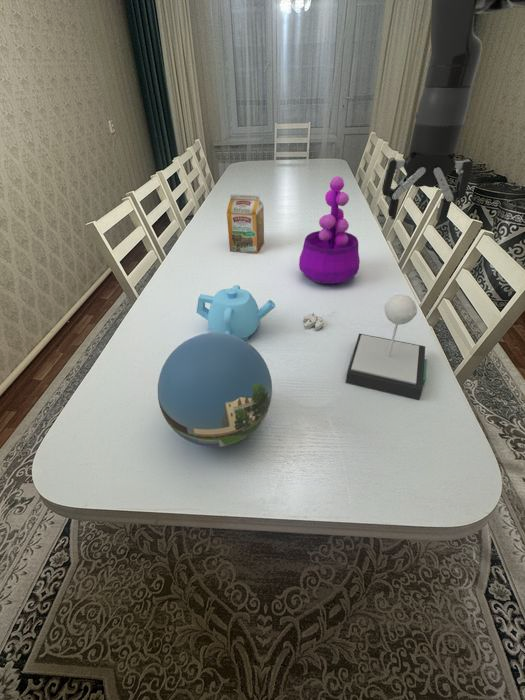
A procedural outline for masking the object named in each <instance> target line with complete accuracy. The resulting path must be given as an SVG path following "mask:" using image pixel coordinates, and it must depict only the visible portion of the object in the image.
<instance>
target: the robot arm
mask: <svg viewBox="0 0 525 700" xmlns="http://www.w3.org/2000/svg"><path fill="white" fill-rule="evenodd" d="M430 7H431V8H430V58H429V62H428V65H427V66H428V68H427V71H426V76H425V81H424V87H423V90H422V94H421V97H420V99H419V102H418V105H417V106H418V107H417V111H416V113H415V121H414V125H413V131H412V136H411V140H410V145H409V150H408V155H407V156H406V158H405V159H396V158H395V157H390V158H389V159H388V161H387V165H386V170H385V175H384V178H383V179H384V180H383V183H382V188H381V190H382V191H381V192H382V195H383V196H385V197H388V198H390V199H389V202H388V203H389V204H388V208H387V214H388V217H390V220H396V217H397V213H398V208H399V203H400V199H399V198H400V197H401V196H402V195H403V194H404V193H405V192H406V191H408V190H409V189H410V188H411V187H412V186H414V187H415V188H422V187H427V188H434V187H436V186H438V187H439V189H440V191H441V193H442V195H443V197H442V198H441V199H440V203H439V206H438V210H437V214H436V218H435V219H436V221H437V222H438V223H439V222H443V220H444V219H445V220H446V218H447V217H448V215H449V211H450V207H451V204H452V202H453V201H454V200H457V199H463V198H465V197H466V195H467V194H466V193H467V190H468V185H469V181H470V178H471V173H472V169H473V166H474V164H473V162H472V161H471V160H470V159H468V158H464V159H462V160H456V158H455V156H456V153H457V150H458V145H459V142H460V139H461V136H462V135H461V134H462V131H463V128H464V124H465V120H466V117H467V113H468V110H469V106H470V101H471V96H472V95H471V93H472V89H473V84H474V81H475V77H476V74H477V70H478V66H479V63H480V60H481V55H482V51H483V43H482V40H481V39H480V38H479V37H478V36H476V34H475V33H474V23H475V15H484V14H492V13H497V12H502V11H507V10H511V9H515V8H519V9H520V8H523V9H525V0H431V6H430ZM402 168H403V169H404V171H405V173H406V174H405V176H403V178H402V179H401V180H400V181H399V183H398V184H397V185H395V187H394V188H392V186H393V185H392V184H393V180H394V176H395V174H398V173H399V172H400V169H402ZM454 169H455V171H456V174H458V176H457V182H456V186H455V189H453V190H452V189H451V188H450V185H449V183H448V182H447V179H446V178H447V177H448V175H450V173H451V172H453V170H454Z"/></svg>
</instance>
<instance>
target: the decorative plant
mask: <svg viewBox="0 0 525 700" xmlns="http://www.w3.org/2000/svg"><path fill="white" fill-rule="evenodd" d="M329 187H330V189H329V190H328V191H327V192H326V193H325V196H324V197H325V198H324V199H325V203H326V204H327V206H329V207H330V213H328V214H324V215H322V216H321V217H320V218H319V220H318V224H319V227H320V228H321V230H317V231H313V232H311V233H310V232H309V234H307V235H306V236H305V238H304V241H303V245H302V250H301V253H300V256H299V260H298V261H299V262H298V267H299V270H300V271H301V272H302V274H303V275H304V276H305V277H306V278H308V279H309V280H311V281H314V282H317V283H321V284H339V283H344V282H346V281H349V280H350V279H351V278H353V277H354V276H355V275H357V274H358V272H359V269H360V253H359V239H358V237H356V236H355V235H354V234H352V233H349V232H347V231H348V229H349V227H350V226H349V225H350V224H349V222H348V221H347V219H346V218H344V217H345V213H344V210H343V209H342V208H340V207H345V206H346V205H347V204H348V203H349V200H350V197H349V195H348V193H346V192H344V191H342V190H343V189H344V187H345V181H344V179H343V178H342V177H341V176H334V177H332V179H331V180H330V182H329Z"/></svg>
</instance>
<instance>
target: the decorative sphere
mask: <svg viewBox="0 0 525 700" xmlns="http://www.w3.org/2000/svg"><path fill="white" fill-rule="evenodd" d="M272 397H273V383H272V376H271V373H270V370H269V367H268V365H267V363H266V361H265V359H264V358H263V356H262V355H261V353H260V352H259V351H258V350H257V349H256V348H255V347H254V346H253V345H251V343H249V342H248V341H247V340H243V339H241V338H239V337H236V336H233V335H230V334H225V333H213V332H206V333H202V334H197V335H195V336H192V337H191V338H189V339H187V340H184V341H183V342H182V343H181V344H179V345H178V346H177V347H175V349H174V350H173V351H172V352H171V353H170V354H169V355H168V357H167V358H166V360H165V362H164V364H163V366H162V368H161V370H160V373H159V377H158V382H157V400H158V405H159V409H160V411H161V413H162V416H163V418H164V419H165V422H167V425H168V426H170V428H171V429H172V430H173V431H174V432H175V433H176V434H177V435H178V436H180V437H181V438H183V439H184V440H186V441H188V442H190V443H192V444H194V445H198V446H200V447H201V446H202V447H207V448H208V447H209V448H222V447H227V446H231V445H234V444H236V443H239V442H241V441H243V440H244V439H246V438H248V437H249V436H250V435H251V434H252V433H254V432H255V431H256V430H257V429H258V428H259V427H260V425H261V424H262V423H263V421H264V419H265V418H266V416H267V413H268V411H269V409H270V406H271V402H272Z"/></svg>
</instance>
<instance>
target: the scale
mask: <svg viewBox="0 0 525 700" xmlns="http://www.w3.org/2000/svg"><path fill="white" fill-rule="evenodd" d="M391 340H392V338H391V339H390V338H385V337H380V336H374V335H369V334H365V333H358V335H357V339H356V343H355V346H354V349H353V352H352V356H351V359H350V362H349V365H348V368H347V372H346V377H345V384H349V385H354V386H357V387H361V388H366V389H369V390H373V391H379V392H382V393H386V394H390V395H396V396H399V397H403V398H408V399H412V400H417V401H420V399H421V396H422V393H423V391H424V386H425V384H426V382H427V367H428V365H427V364H428V359H426V346H425V345H422V344H415V343H411V342H405V341H400V340H395V339H394V342H393V346H392V350H391V354H390V357H388V352H389V348H390V344H391Z"/></svg>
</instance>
